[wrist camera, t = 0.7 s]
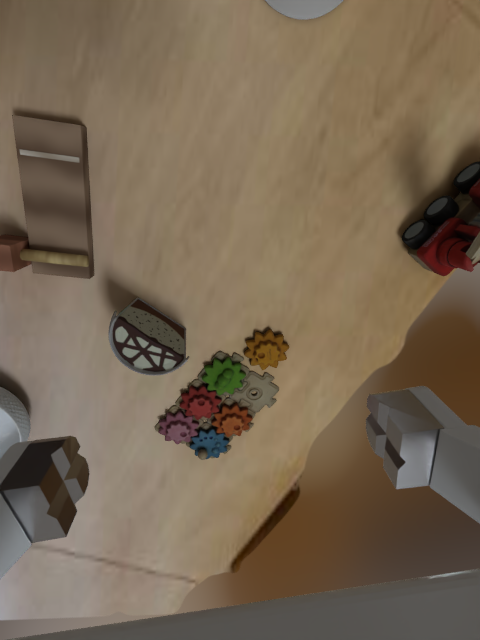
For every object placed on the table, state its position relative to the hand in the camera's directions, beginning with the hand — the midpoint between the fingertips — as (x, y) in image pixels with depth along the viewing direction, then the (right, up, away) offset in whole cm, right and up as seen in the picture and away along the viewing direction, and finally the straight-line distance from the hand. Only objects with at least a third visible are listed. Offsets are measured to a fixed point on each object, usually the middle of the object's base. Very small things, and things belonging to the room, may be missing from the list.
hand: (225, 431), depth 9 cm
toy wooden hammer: (-28, +13, +39) cm, 50 cm away
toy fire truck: (+32, +20, +41) cm, 55 cm away
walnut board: (-25, +20, +36) cm, 48 cm away
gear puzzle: (-1, -11, +52) cm, 53 cm away
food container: (-14, +2, +45) cm, 47 cm away
